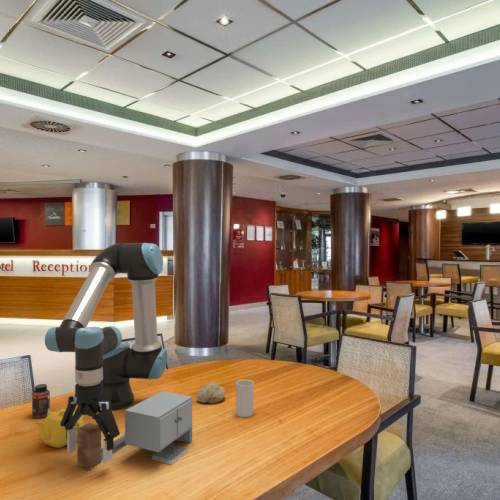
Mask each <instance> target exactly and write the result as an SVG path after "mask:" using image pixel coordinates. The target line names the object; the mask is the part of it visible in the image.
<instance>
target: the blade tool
mask: <svg viewBox="0 0 500 500" xmlns="http://www.w3.org/2000/svg"><path fill="white" fill-rule="evenodd" d="M113 444H114V447H113V449H112V455H114V454H115V453H116V452H118V451H120V450H122V449H123V448H125V447H126V446H128V445H127V444H125V434H123V435H121V436H120V437H118V438H116V439H115V440H114V443H113ZM76 450H77V451H76V452H77V457H76V459H77V460H76V461H77V463H76V465H77V468H78V469H81V468H82V469H81V470H85V469H86V470H85V471H88V470H90V471H91V470H93V469H94V467H95V466H96V467H98V466H99V465H100V463H101V464H102V462H103V461H102V460H103V447H102V431H101V429H100V428H99V426H98V424H97V423H91V422H88V423H86V424H84V426H82V427H80V428H78V429H77V441H76ZM98 464H99V465H98ZM97 465H98V466H97ZM96 467H95V468H96ZM92 468H93V469H92Z"/></svg>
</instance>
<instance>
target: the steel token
mask: <svg viewBox="0 0 500 500" xmlns="http://www.w3.org/2000/svg"><path fill="white" fill-rule="evenodd" d="M187 453H188V448H187V447H183V446H178V445H174V444H172V443H170V444H169V445H168V446H166V447H165V448H164V449H162V450H161V451H159V452H154V454H152V455H151V460H152V459H153V460H152V461H154V460H156V461H155V462H158V461H160V462H159V463H162V462H163V463H162V464H166V463H167V464H166V465H169V464H172V465H173V463H174V462H175V461H176V462H177V461H178V459H179V458H180V457H181V458H182V457H184V456H185V455H186V454H187ZM183 455H184V456H183ZM181 458H180V459H181ZM180 459H179V460H180ZM176 462H175V463H176ZM175 463H174V464H175Z"/></svg>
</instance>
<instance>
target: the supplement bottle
mask: <svg viewBox="0 0 500 500" xmlns="http://www.w3.org/2000/svg"><path fill="white" fill-rule="evenodd" d="M50 398H51V392H50V390H49V389H48V385H47V383H40V384H37V385H35V386H34V391H33V392H32V395H31V417H32V418H33V419H43V417H44V418H46V417H47V413H48V412H50V411H51V399H50Z"/></svg>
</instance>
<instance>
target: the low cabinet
mask: <svg viewBox="0 0 500 500" xmlns="http://www.w3.org/2000/svg"><path fill="white" fill-rule="evenodd" d="M124 435H125V444H127V445H126V446H132V447H134V448H135V447H136V448H139V449H143V450H144V449H145V450H148V451H151V452H154V453H156V452H159V451H161V450H162V449H164V448H165V447H166V446H168V445H169V444H172V443H174V441H178V442H183V443H188V444H191V442H192V443H193V396H192V395H191V396H190V395H187V394H186V395H185V394H179V393H174V392H169V391H162V390H161V391H160V392H157V393H156V394H154V395H152V396H150V397H148V398H146V399H144V400H142V401H141V402H139V403H136V404H134V405H133V406H130V407H128V408H127V409H125V411H124Z"/></svg>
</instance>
